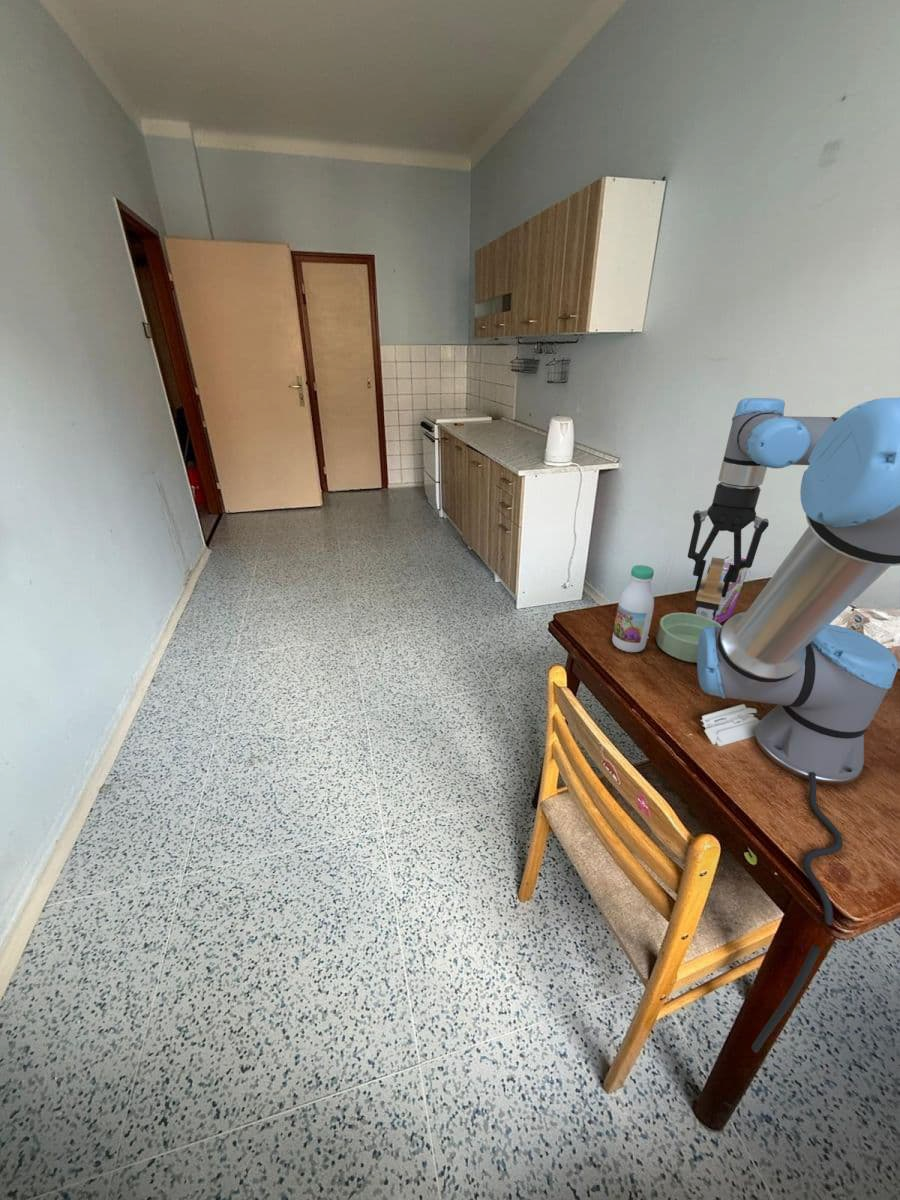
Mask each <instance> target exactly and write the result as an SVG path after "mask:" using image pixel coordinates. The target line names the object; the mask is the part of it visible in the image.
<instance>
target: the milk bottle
mask: <svg viewBox="0 0 900 1200" xmlns="http://www.w3.org/2000/svg"><path fill="white" fill-rule="evenodd" d="M654 572H655V571H654V569H653V568H652V567H650V566H648V565H643V564H638V565H633V566H632V567H631V571H630V581H629V582H628V585H627V586H626V587H625V589H624V590H623V591H622V593H621V594H620V597H619V600H618V604H617V609H616V614H615V620H614V626H613V631H612V638H611V641H612V644H613V646H615V647H616V648H617V649H619V650H620V651H624V652H626V653H627V652H628V653H638V652H641V651H643V650H645V648H646V646H647V642H648V636H649V633H650V629H651V628H650V627H651V623H652V619H653V613H654V608H655V597H654V593H653V590H652V584H651V583H652V581H653V577H654Z"/></svg>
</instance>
